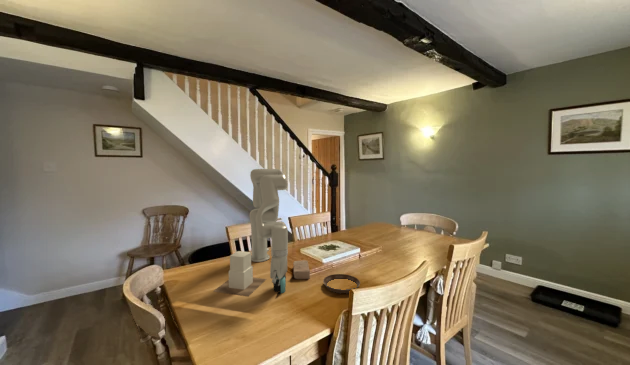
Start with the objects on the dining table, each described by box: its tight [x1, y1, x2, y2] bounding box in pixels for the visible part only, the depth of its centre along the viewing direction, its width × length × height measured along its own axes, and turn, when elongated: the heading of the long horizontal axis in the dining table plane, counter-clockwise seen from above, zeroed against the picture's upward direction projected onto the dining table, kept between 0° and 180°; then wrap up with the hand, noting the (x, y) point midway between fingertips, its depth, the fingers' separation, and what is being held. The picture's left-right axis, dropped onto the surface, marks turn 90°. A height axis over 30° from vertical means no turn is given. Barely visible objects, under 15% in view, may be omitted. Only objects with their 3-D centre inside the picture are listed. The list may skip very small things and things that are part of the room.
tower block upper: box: [229, 250, 252, 272], centre depth 122 cm, size 7×7×7 cm
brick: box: [292, 259, 311, 280], centre depth 140 cm, size 17×8×5 cm, turn 6°
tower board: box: [213, 276, 267, 298], centre depth 123 cm, size 18×18×2 cm
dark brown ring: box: [322, 273, 361, 294], centre depth 124 cm, size 18×18×3 cm
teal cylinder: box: [276, 277, 286, 295], centre depth 120 cm, size 5×5×6 cm
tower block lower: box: [228, 265, 254, 290], centre depth 122 cm, size 8×8×8 cm
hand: (279, 289), depth 120 cm, fingers closed on teal cylinder, 5 cm apart
